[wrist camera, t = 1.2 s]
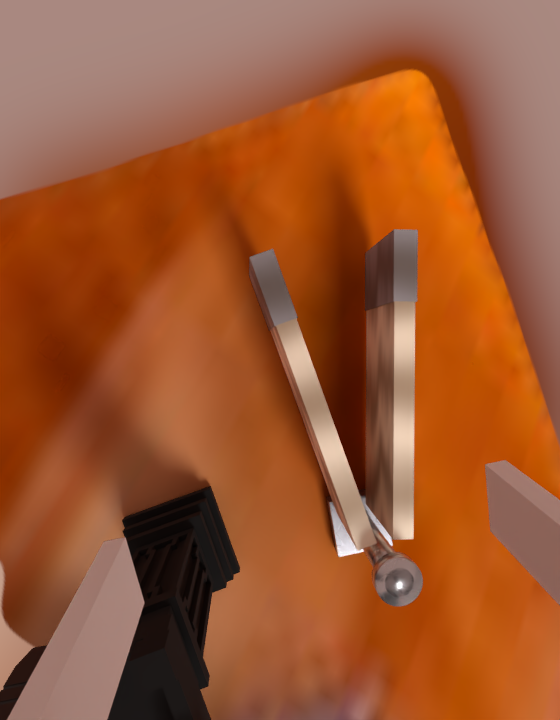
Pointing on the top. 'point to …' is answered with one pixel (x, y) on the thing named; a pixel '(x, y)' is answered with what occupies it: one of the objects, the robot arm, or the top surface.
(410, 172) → the top surface
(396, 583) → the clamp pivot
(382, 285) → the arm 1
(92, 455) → the top surface
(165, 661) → the chess piece
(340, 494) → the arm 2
